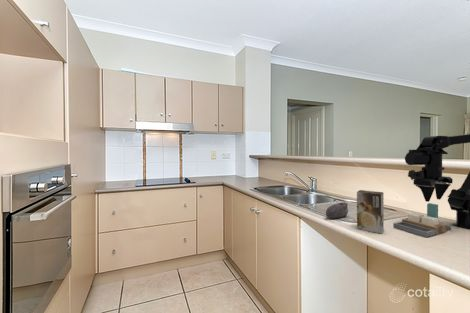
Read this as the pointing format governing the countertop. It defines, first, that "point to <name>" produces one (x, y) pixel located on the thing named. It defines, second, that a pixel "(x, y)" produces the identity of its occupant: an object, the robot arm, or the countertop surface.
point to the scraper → (434, 213)
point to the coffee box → (370, 211)
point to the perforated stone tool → (337, 210)
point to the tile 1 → (415, 217)
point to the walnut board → (428, 226)
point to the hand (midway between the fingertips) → (433, 200)
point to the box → (414, 229)
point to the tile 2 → (430, 220)
